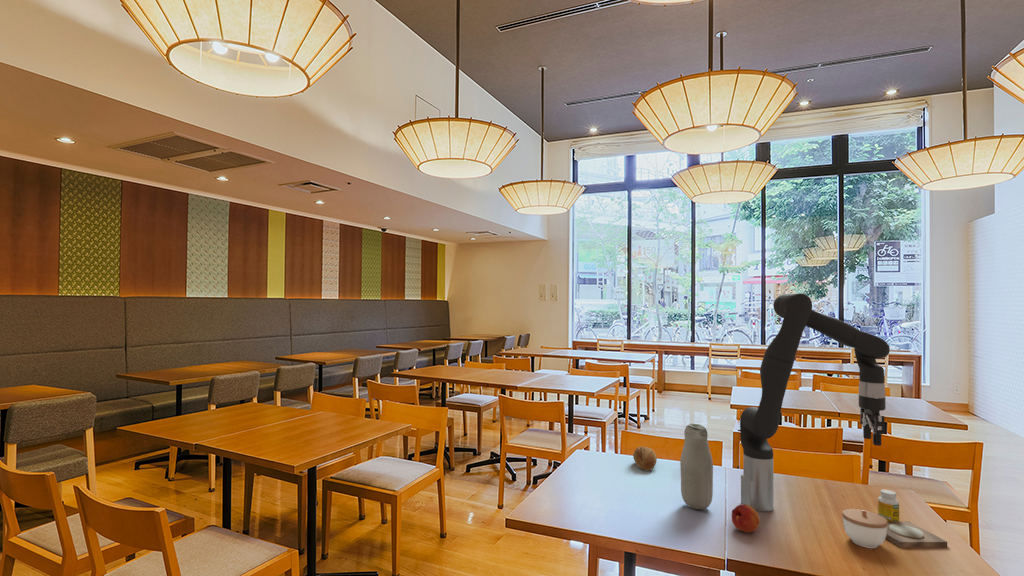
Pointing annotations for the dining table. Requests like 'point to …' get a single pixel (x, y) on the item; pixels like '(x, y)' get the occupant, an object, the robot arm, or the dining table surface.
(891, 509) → the supplement bottle
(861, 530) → the lidded jar
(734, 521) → the fruit
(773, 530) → the dining table surface
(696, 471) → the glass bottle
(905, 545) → the serving board
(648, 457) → the bread roll
